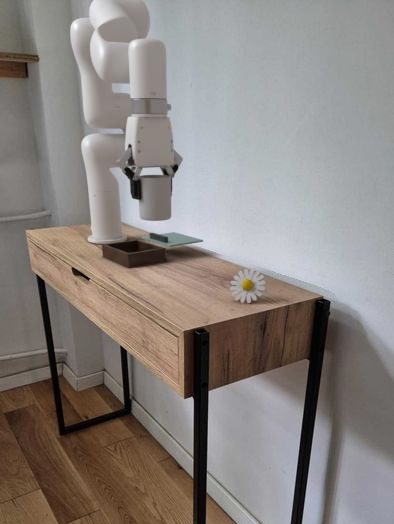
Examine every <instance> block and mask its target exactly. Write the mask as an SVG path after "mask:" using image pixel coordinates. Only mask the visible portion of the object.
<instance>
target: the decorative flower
mask: <svg viewBox="0 0 394 524" xmlns="http://www.w3.org/2000/svg"><path fill="white" fill-rule="evenodd" d="M243 271H244V272H243ZM243 271H241V270H239V271H238V272H237V273H238V275H239V276H238V275H234V276H233V280H230V285H232V286H231V287H229V290H230V291H232V292H231V295H230V296H232V297H235V301H236V302H237V301H240V304H243V303H245V301H246V302H247V304H250V303H251V302H252V300H253V301H257V300H258V297H262V296H263V293H262V292H261V291H265V290H266V287H265V286H264V285H266V283H267V281H266V280H263V279H264V278H265V276H264V274H260V273H261V272H260V271H259V270H256V271H255V268H250V270H249V269H248V268H244V270H243ZM257 296H258V297H257Z"/></svg>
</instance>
